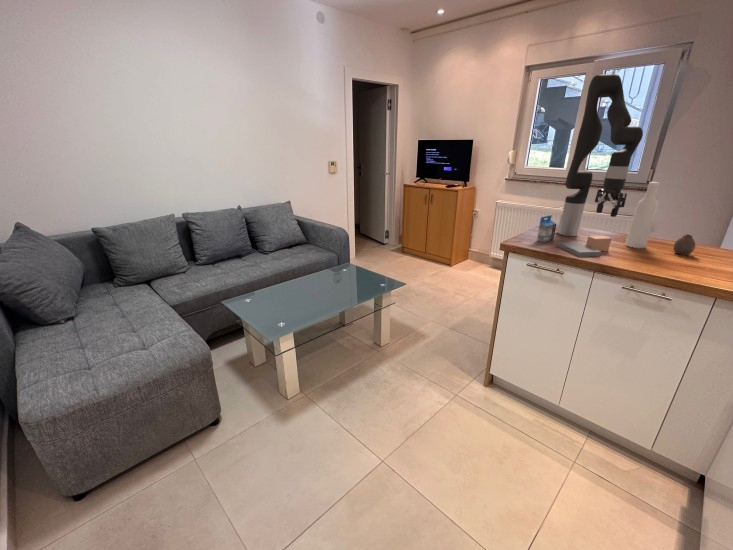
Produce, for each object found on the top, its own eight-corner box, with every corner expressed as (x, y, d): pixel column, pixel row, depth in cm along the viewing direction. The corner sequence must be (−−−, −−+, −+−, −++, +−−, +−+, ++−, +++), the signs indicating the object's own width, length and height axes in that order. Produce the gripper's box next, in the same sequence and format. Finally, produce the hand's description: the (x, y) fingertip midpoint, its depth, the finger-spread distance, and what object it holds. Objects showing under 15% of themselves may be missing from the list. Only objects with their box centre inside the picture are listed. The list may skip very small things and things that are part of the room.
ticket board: (556, 245, 162) (557, 241, 161) (576, 245, 163) (577, 241, 162) (578, 256, 147) (580, 252, 146) (600, 255, 148) (601, 251, 147)
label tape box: (543, 242, 168) (548, 218, 163) (536, 240, 171) (540, 216, 166) (553, 240, 172) (558, 216, 167) (546, 238, 175) (551, 215, 170)
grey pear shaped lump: (675, 255, 148) (682, 236, 145) (668, 250, 154) (675, 232, 151) (695, 257, 146) (702, 237, 142) (687, 252, 152) (694, 233, 148)
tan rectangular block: (585, 248, 157) (588, 236, 155) (601, 247, 158) (604, 235, 156) (591, 251, 153) (595, 238, 151) (608, 250, 154) (611, 238, 152)
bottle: (623, 243, 166) (641, 180, 155) (642, 244, 163) (662, 181, 152) (626, 247, 159) (646, 182, 148) (647, 249, 156) (668, 183, 145)
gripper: (595, 175, 150) (586, 211, 156) (620, 179, 137) (610, 218, 143) (611, 175, 150) (602, 211, 156) (637, 178, 137) (626, 217, 143)
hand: (605, 214), depth 149 cm, fingers open, 8 cm apart
